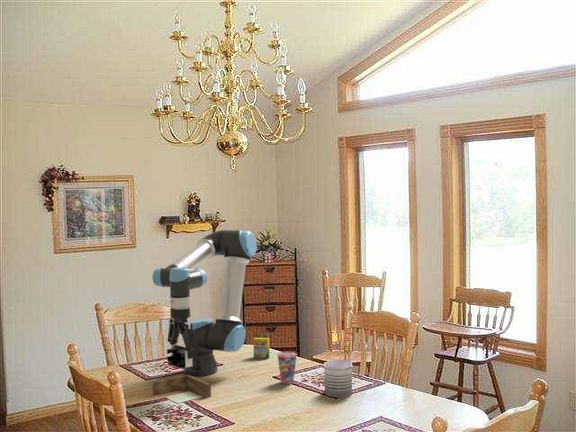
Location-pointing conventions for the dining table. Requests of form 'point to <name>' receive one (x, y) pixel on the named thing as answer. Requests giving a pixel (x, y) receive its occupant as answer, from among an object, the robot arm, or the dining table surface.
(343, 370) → the can
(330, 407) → the dining table surface
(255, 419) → the dining table surface
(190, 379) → the brown l-shaped piece
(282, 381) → the cup
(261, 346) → the crayon box
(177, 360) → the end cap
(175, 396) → the pad
